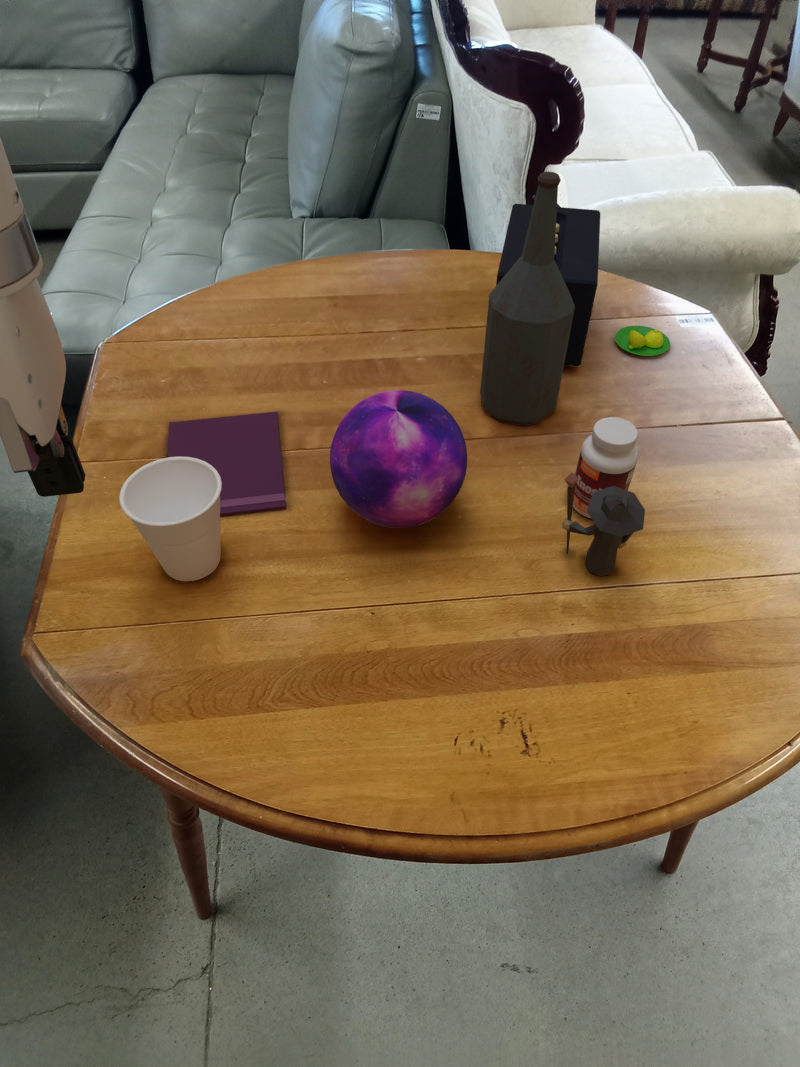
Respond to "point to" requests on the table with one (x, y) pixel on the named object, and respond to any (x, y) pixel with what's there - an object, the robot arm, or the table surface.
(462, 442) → the decorative orb
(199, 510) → the cup
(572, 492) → the wizard figurine
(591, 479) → the pill bottle
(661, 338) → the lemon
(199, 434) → the book
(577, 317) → the speaker
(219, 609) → the table surface
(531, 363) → the bottle
